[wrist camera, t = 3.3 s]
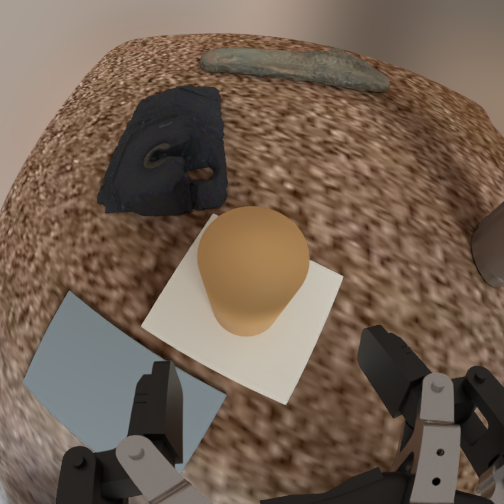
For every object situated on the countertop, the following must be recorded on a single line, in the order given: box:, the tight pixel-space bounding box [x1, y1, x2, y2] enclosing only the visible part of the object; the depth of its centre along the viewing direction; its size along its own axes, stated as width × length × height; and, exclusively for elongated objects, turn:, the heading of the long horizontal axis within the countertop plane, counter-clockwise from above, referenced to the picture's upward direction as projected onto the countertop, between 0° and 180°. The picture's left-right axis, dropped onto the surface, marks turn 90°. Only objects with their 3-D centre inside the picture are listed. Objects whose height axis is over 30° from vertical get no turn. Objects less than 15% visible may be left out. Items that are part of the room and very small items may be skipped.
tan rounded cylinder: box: [197, 206, 310, 337], centre depth 16 cm, size 5×5×9 cm
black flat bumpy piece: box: [97, 86, 228, 216], centre depth 30 cm, size 15×22×5 cm
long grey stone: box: [200, 47, 390, 92], centre depth 40 cm, size 35×5×10 cm
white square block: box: [141, 214, 343, 405], centre depth 22 cm, size 11×12×4 cm
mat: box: [23, 290, 227, 474], centre depth 20 cm, size 12×18×1 cm, turn 63°
